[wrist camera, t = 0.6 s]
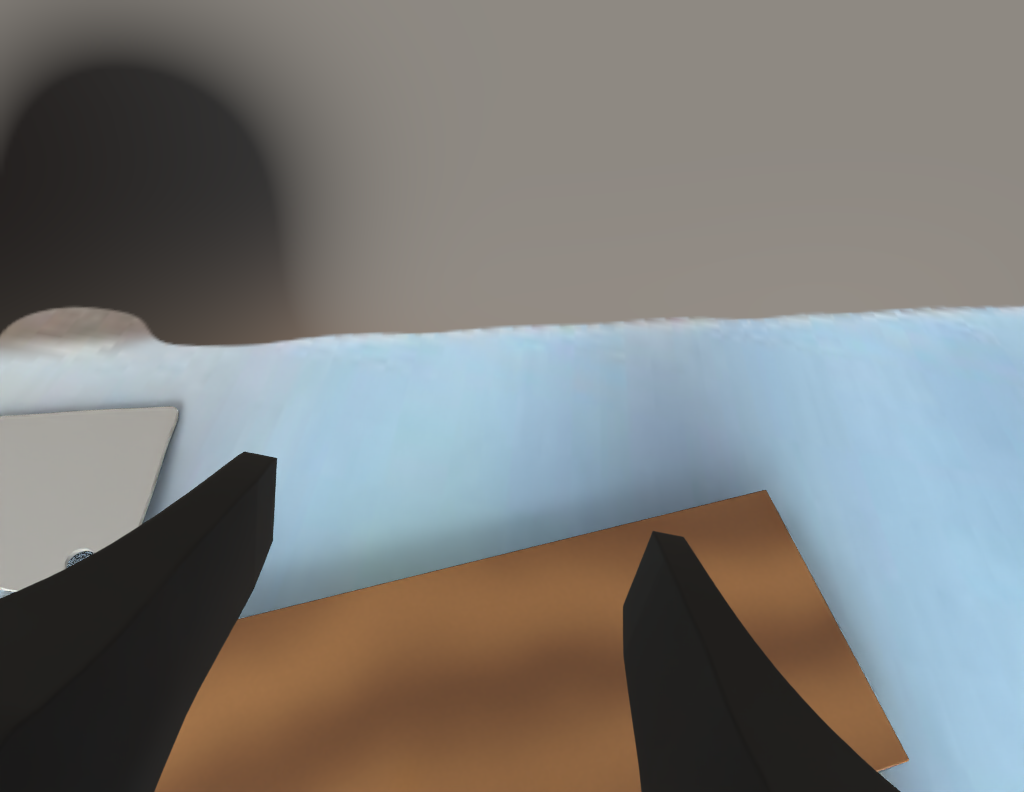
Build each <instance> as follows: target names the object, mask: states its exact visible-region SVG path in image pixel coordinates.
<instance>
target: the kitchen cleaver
mask: <svg viewBox="0 0 1024 792" xmlns="http://www.w3.org/2000/svg"><path fill="white" fill-rule="evenodd" d="M178 416H179V413H178V411H177V409H176V408H175V407H171V406H168V407H150V408H124V409H102V410H86V411H71V412H57V413H43V414H28V415H13V416H0V590H5V591H10V592H17V591H19V590H21V589H23V588H25V587H28V586H30V585H32V584H34V583H37V582H39V581H41V580H43V579H46V578H48V577H50V576H52V575H54V574H56V573H58V572H60V571H62V570H64V569H66V568H67V565H68V562H69V561H70V559H71V558H72V557H73V556H74V555H76V554H78V553H80V552H83V551H91V552H93V553H96V552H98V551H99V550H101V549H103V548H105V547H106V546H108V545H110V544H111V543H113V542H115V541H116V540H118V539H119V538H121V537H123V536H124V535H126V534H127V533H129V532H131V531H132V530H134V529H135V528H137V527H139V526H140V525H142V523H143V520H144V517H145V514H146V512H147V509H148V506H149V503H150V500H151V498H152V495H153V491H154V488H155V485H156V482H157V479H158V475H159V472H160V469H161V466H162V462H163V459H164V456H165V453H166V450H167V447H168V444H169V441H170V439H171V436H172V433H173V431H174V428H175V426H176V423H177V420H178Z"/></svg>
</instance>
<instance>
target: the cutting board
mask: <svg viewBox="0 0 1024 792" xmlns="http://www.w3.org/2000/svg"><path fill="white" fill-rule="evenodd" d="M653 531H656V532H661V533H667V534H672V535H677V536H682V537H684V538H685V539H686V541H687V542H688V544H689V545H690V547H691V548H692V550H693V552H694V553H695V555H696V556H697V558H698V559H699V561H700V562H701V564H702V565H703V567H704V569H705V570H706V572H707V573H708V575H709V576H710V578H711V579H712V581H713V582H714V584H715V585H716V587H717V588H718V590H719V591H720V593H721V594H722V596H723V597H724V599H725V600H726V602H727V603H728V604H729V606H730V607H731V609H732V610H733V612H734V613H735V615H736V616H737V617H738V619H739V620H740V622H741V623H742V624H743V626H744V627H745V628H746V630H747V631H748V632H749V634H750V635H751V636H752V638H753V639H754V641H755V642H756V643H757V644H758V646H759V647H760V648H761V649H762V651H763V652H764V653H765V655H766V656H767V657H768V658H769V660H770V661H771V662H772V663H773V665H774V666H775V667H776V668H777V670H778V671H779V672H780V673H781V674H782V676H783V677H784V678H785V679H786V680H787V681H788V683H789V684H790V685H791V686H792V687H793V688H794V689H795V690H796V692H797V693H798V694H799V695H800V696H801V697H802V698H803V699H804V700H805V701H806V703H807V704H808V705H809V706H810V707H811V708H812V709H813V710H814V711H815V712H816V713H817V715H818V716H819V717H820V718H821V719H822V720H823V721H824V722H825V723H826V724H827V725H828V726H829V727H830V728H831V729H832V730H833V731H834V732H835V733H836V734H837V735H838V736H839V737H840V738H842V739H843V740H844V741H845V742H846V743H847V744H848V745H849V746H850V747H851V748H852V749H853V750H854V751H855V752H856V753H857V754H858V755H859V756H860V757H861V758H862V759H864V760H865V761H866V762H867V763H868V764H869V765H870V766H871V767H872V768H874V769H875V770H876V771H877V772H880V771H883V770H886V769H888V768H891V767H894V766H897V765H899V764H902V763H905V762H907V761H909V758H908V756H907V754H906V753H905V751H904V749H903V747H902V745H901V743H900V741H899V739H898V737H897V736H896V734H895V732H894V730H893V728H892V726H891V724H890V722H889V720H888V719H887V717H886V715H885V713H884V711H883V709H882V707H881V705H880V704H879V702H878V700H877V698H876V696H875V694H874V692H873V690H872V688H871V687H870V685H869V683H868V681H867V679H866V677H865V675H864V673H863V671H862V670H861V668H860V666H859V664H858V662H857V660H856V658H855V656H854V655H853V653H852V651H851V649H850V647H849V645H848V643H847V641H846V639H845V638H844V636H843V634H842V632H841V630H840V628H839V626H838V624H837V622H836V621H835V619H834V617H833V615H832V613H831V611H830V609H829V607H828V606H827V604H826V602H825V600H824V598H823V596H822V594H821V592H820V590H819V589H818V587H817V585H816V583H815V581H814V579H813V577H812V575H811V573H810V572H809V570H808V568H807V566H806V564H805V562H804V560H803V558H802V557H801V555H800V553H799V551H798V549H797V547H796V545H795V543H794V541H793V540H792V538H791V536H790V534H789V532H788V530H787V528H786V526H785V524H784V523H783V521H782V519H781V517H780V515H779V513H778V511H777V509H776V507H775V506H774V504H773V502H772V500H771V498H770V496H769V494H768V492H767V491H766V490H763V491H759V492H754V493H750V494H746V495H742V496H738V497H734V498H730V499H726V500H722V501H718V502H714V503H710V504H706V505H701V506H697V507H693V508H689V509H685V510H681V511H677V512H673V513H669V514H665V515H661V516H657V517H653V518H648V519H644V520H640V521H636V522H632V523H628V524H624V525H620V526H616V527H612V528H608V529H604V530H600V531H595V532H591V533H587V534H583V535H579V536H575V537H571V538H567V539H563V540H559V541H555V542H551V543H547V544H542V545H538V546H534V547H530V548H526V549H522V550H518V551H514V552H510V553H506V554H502V555H498V556H494V557H489V558H485V559H481V560H477V561H473V562H469V563H465V564H461V565H457V566H453V567H449V568H445V569H441V570H436V571H432V572H428V573H424V574H420V575H416V576H412V577H408V578H404V579H400V580H396V581H392V582H388V583H383V584H379V585H375V586H371V587H367V588H363V589H359V590H355V591H351V592H347V593H343V594H339V595H335V596H330V597H326V598H322V599H318V600H314V601H310V602H306V603H302V604H298V605H294V606H290V607H286V608H282V609H277V610H273V611H269V612H265V613H261V614H257V615H253V616H249V617H245V618H241V619H237V621H236V623H235V625H234V627H233V629H232V630H231V632H230V634H229V636H228V638H227V640H226V641H225V643H224V645H223V647H222V649H221V651H220V652H219V654H218V656H217V658H216V660H215V661H214V663H213V665H212V667H211V669H210V671H209V672H208V674H207V676H206V678H205V680H204V682H203V683H202V685H201V687H200V689H199V691H198V693H197V695H196V697H195V699H194V701H193V703H192V705H191V707H190V709H189V711H188V713H187V715H186V717H185V719H184V722H183V724H182V727H181V729H180V731H179V734H178V736H177V738H176V741H175V743H174V745H173V748H172V750H171V752H170V755H169V757H168V760H167V762H166V764H165V767H164V769H163V771H162V774H161V776H160V779H159V781H158V784H157V786H156V789H155V791H154V792H641V784H640V774H639V765H638V758H637V751H636V744H635V737H634V730H633V723H632V716H631V709H630V702H629V695H628V687H627V680H626V672H625V665H624V657H623V604H624V602H625V599H626V597H627V594H628V592H629V589H630V587H631V584H632V582H633V579H634V577H635V574H636V572H637V569H638V567H639V564H640V562H641V559H642V557H643V554H644V552H645V549H646V547H647V544H648V542H649V539H650V537H651V534H652V532H653Z"/></svg>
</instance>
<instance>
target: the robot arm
mask: <svg viewBox="0 0 1024 792" xmlns="http://www.w3.org/2000/svg"><path fill="white" fill-rule="evenodd" d="M276 468H277V458H274V457H269V456H264V455H259V454H254V453H248V452H243V453H241V454H240V455H238V456H237V457H235V458H234V459H233V460H231V461H230V462H229V463H227V464H226V465H225V466H223V467H222V468H221V469H219V470H218V471H217V472H215V473H214V474H213V475H212V476H210V477H209V478H208V479H206V480H205V481H203V482H202V483H201V484H199V485H198V486H197V487H195V488H194V489H193V490H191V491H190V492H189V493H187V494H186V495H184V496H183V497H181V498H180V499H179V500H177V501H176V502H174V503H173V504H171V505H170V506H169V507H167V508H166V509H164V510H163V511H161V512H160V513H159V514H157V515H156V516H154V517H153V518H151V519H150V520H148V521H146V522H145V523H143V524H142V525H140V526H139V527H137V528H135V529H134V530H132V531H131V532H129V533H127V534H126V535H124V536H123V537H121V538H119V539H118V540H116V541H115V542H113V543H111V544H110V545H108V546H106V547H105V548H103V549H101V550H99V551H98V552H96V553H94V554H92V555H90V556H89V557H87V558H85V559H83V560H81V561H79V562H78V563H76V564H74V565H72V566H70V567H68V568H66V569H64V570H62V571H60V572H58V573H56V574H54V575H52V576H50V577H48V578H46V579H43V580H41V581H39V582H37V583H34V584H32V585H30V586H28V587H25V588H23V589H21V590H19V591H17V592H14V593H12V594H10V595H8V596H5V597H3V598H1V599H0V792H154V791H155V789H156V786H157V784H158V781H159V779H160V776H161V774H162V771H163V769H164V767H165V764H166V762H167V760H168V757H169V755H170V752H171V750H172V748H173V745H174V743H175V741H176V738H177V736H178V734H179V731H180V729H181V727H182V724H183V722H184V719H185V717H186V715H187V713H188V711H189V709H190V707H191V705H192V703H193V701H194V699H195V697H196V695H197V693H198V691H199V689H200V687H201V685H202V683H203V682H204V680H205V678H206V676H207V674H208V672H209V671H210V669H211V667H212V665H213V663H214V661H215V660H216V658H217V656H218V654H219V652H220V651H221V649H222V647H223V645H224V643H225V641H226V640H227V638H228V636H229V634H230V632H231V630H232V629H233V627H234V625H235V623H236V621H237V619H238V618H239V616H240V614H241V612H242V610H243V608H244V606H245V605H246V603H247V601H248V599H249V597H250V595H251V593H252V591H253V589H254V587H255V585H256V582H257V580H258V577H259V575H260V572H261V570H262V568H263V565H264V562H265V560H266V557H267V554H268V552H269V549H270V547H271V544H272V541H273V526H274V507H275V487H276ZM623 657H624V665H625V672H626V680H627V687H628V695H629V702H630V709H631V716H632V723H633V730H634V737H635V744H636V751H637V758H638V765H639V774H640V784H641V792H900V791H899V790H898V789H897V788H896V787H894V786H893V785H892V784H891V783H890V782H888V781H887V780H886V779H885V778H884V777H883V776H881V775H880V774H879V773H878V772H877V771H876V770H875V769H874V768H872V767H871V766H870V765H869V764H868V763H867V762H866V761H865V760H864V759H862V758H861V757H860V756H859V755H858V754H857V753H856V752H855V751H854V750H853V749H852V748H851V747H850V746H849V745H848V744H847V743H846V742H845V741H844V740H843V739H842V738H840V737H839V736H838V735H837V734H836V733H835V732H834V731H833V730H832V729H831V728H830V727H829V726H828V725H827V724H826V723H825V722H824V721H823V720H822V719H821V718H820V717H819V716H818V715H817V713H816V712H815V711H814V710H813V709H812V708H811V707H810V706H809V705H808V704H807V703H806V701H805V700H804V699H803V698H802V697H801V696H800V695H799V694H798V693H797V692H796V690H795V689H794V688H793V687H792V686H791V685H790V684H789V683H788V681H787V680H786V679H785V678H784V677H783V676H782V674H781V673H780V672H779V671H778V670H777V668H776V667H775V666H774V665H773V663H772V662H771V661H770V660H769V658H768V657H767V656H766V655H765V653H764V652H763V651H762V649H761V648H760V647H759V646H758V644H757V643H756V642H755V641H754V639H753V638H752V636H751V635H750V634H749V632H748V631H747V630H746V628H745V627H744V626H743V624H742V623H741V622H740V620H739V619H738V617H737V616H736V615H735V613H734V612H733V610H732V609H731V607H730V606H729V604H728V603H727V602H726V600H725V599H724V597H723V596H722V594H721V593H720V591H719V590H718V588H717V587H716V585H715V584H714V582H713V581H712V579H711V578H710V576H709V575H708V573H707V572H706V570H705V569H704V567H703V565H702V564H701V562H700V561H699V559H698V558H697V556H696V555H695V553H694V552H693V550H692V548H691V547H690V545H689V544H688V542H687V541H686V539H685V538H684V537H682V536H677V535H672V534H667V533H661V532H656V531H653V532H652V534H651V537H650V539H649V542H648V544H647V547H646V549H645V552H644V554H643V557H642V559H641V562H640V564H639V567H638V569H637V572H636V574H635V577H634V579H633V582H632V584H631V587H630V589H629V592H628V594H627V597H626V599H625V602H624V604H623Z"/></svg>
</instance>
